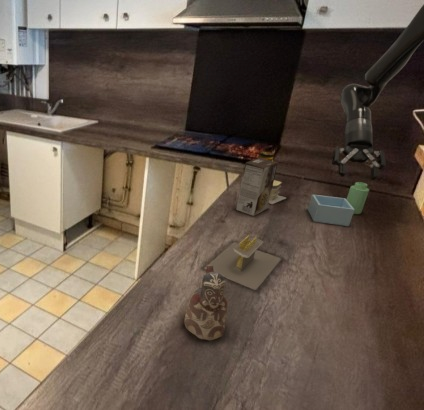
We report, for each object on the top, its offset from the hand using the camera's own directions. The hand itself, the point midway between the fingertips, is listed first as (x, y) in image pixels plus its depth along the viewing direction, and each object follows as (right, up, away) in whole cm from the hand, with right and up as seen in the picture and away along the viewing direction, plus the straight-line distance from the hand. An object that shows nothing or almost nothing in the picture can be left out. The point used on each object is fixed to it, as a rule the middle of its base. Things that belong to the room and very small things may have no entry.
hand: (358, 177), depth 116 cm
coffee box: (-34, -11, +1) cm, 36 cm away
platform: (-50, -23, -29) cm, 63 cm away
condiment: (-21, 0, +25) cm, 33 cm away
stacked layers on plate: (-24, -6, +11) cm, 27 cm away
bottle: (-2, -11, +1) cm, 11 cm away
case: (-13, -13, -4) cm, 19 cm away
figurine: (-67, -32, -49) cm, 89 cm away
